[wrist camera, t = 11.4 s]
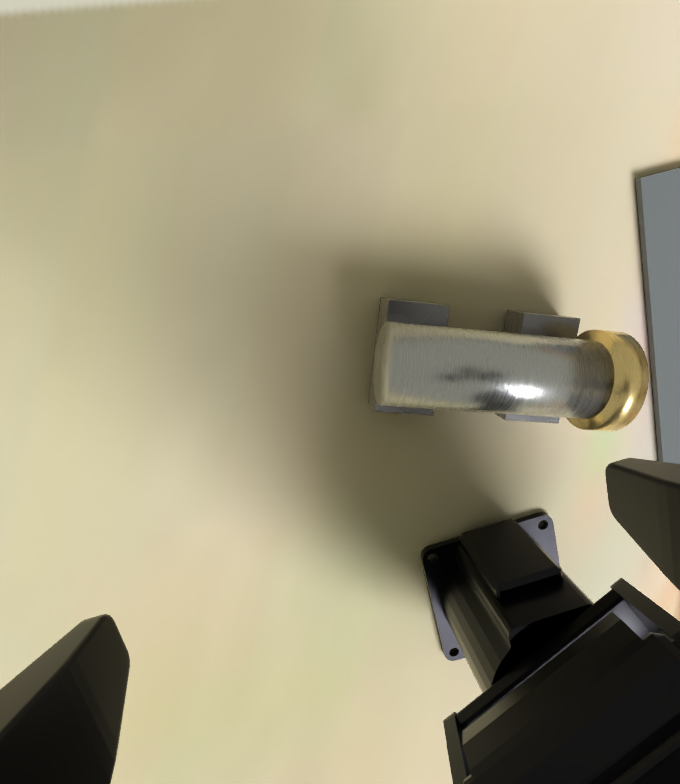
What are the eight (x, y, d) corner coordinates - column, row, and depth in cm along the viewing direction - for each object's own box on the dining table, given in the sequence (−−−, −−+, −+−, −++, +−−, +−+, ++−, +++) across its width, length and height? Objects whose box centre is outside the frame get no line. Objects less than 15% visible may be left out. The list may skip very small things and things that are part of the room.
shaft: (576, 317, 21) (662, 330, 17) (556, 414, 22) (631, 453, 18) (373, 296, 20) (404, 305, 15) (361, 401, 21) (386, 439, 16)
